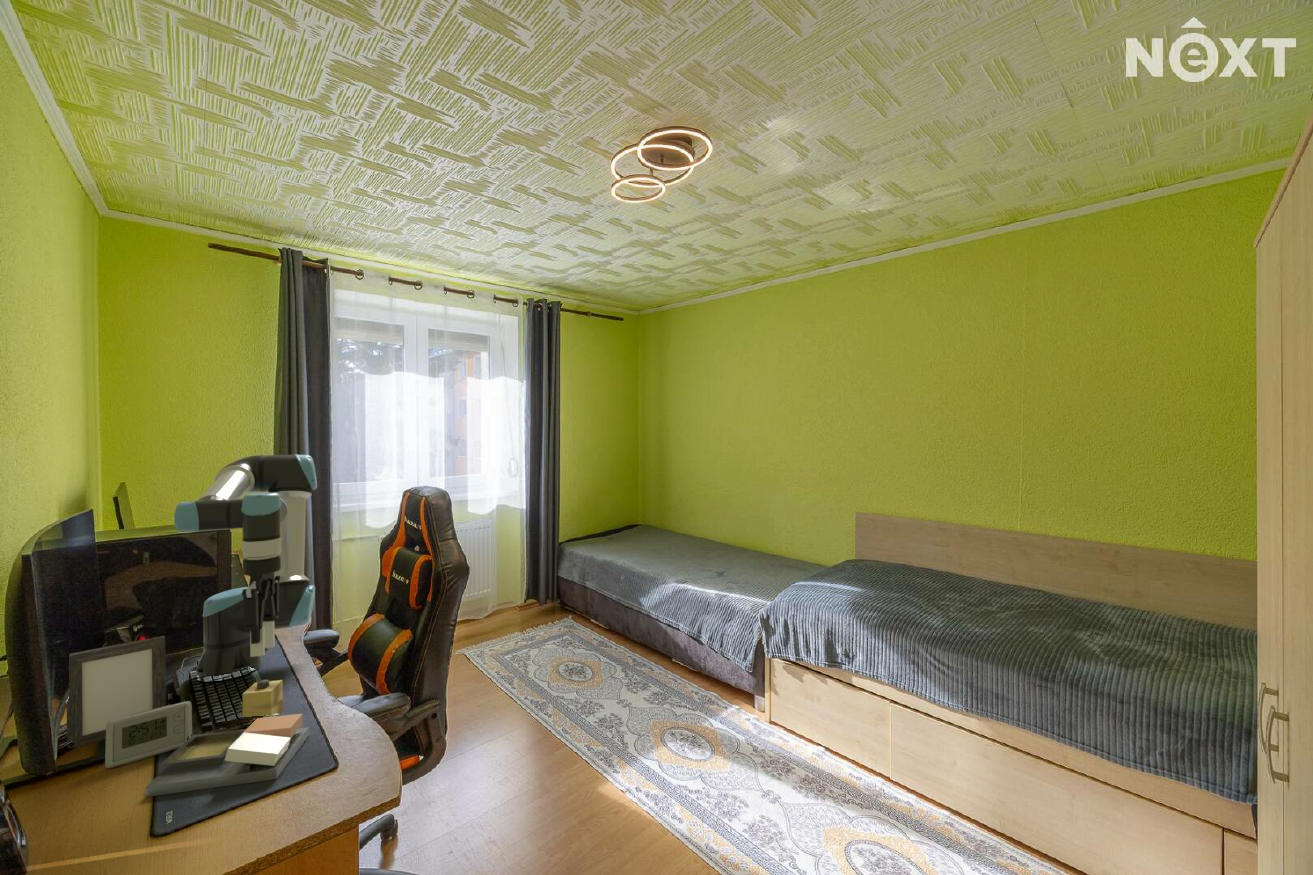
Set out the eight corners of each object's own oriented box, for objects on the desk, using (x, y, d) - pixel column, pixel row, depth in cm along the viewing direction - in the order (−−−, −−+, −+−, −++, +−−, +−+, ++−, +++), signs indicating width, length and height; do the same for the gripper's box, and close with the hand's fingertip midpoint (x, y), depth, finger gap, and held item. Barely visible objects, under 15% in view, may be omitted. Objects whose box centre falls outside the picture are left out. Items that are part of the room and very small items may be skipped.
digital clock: (100, 772, 109) (100, 728, 109) (114, 753, 116) (113, 712, 116) (188, 752, 116) (187, 710, 116) (196, 735, 123) (196, 696, 123)
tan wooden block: (255, 714, 132) (255, 677, 132) (282, 711, 133) (282, 675, 133) (242, 727, 126) (242, 688, 126) (271, 724, 128) (271, 685, 128)
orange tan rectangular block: (257, 728, 119) (257, 717, 119) (302, 724, 121) (302, 713, 121) (243, 743, 113) (243, 732, 113) (290, 738, 115) (290, 727, 115)
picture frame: (66, 751, 117) (66, 656, 117) (68, 747, 118) (67, 653, 118) (165, 724, 128) (165, 637, 128) (165, 720, 129) (164, 634, 129)
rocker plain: (240, 743, 111) (244, 732, 111) (287, 748, 113) (290, 737, 113) (224, 760, 105) (228, 748, 106) (274, 765, 107) (277, 753, 108)
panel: (194, 749, 117) (194, 733, 117) (309, 735, 122) (308, 720, 122) (143, 797, 102) (142, 778, 102) (276, 778, 107) (276, 761, 107)
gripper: (262, 549, 137) (262, 639, 137) (224, 565, 120) (225, 668, 120) (294, 548, 139) (295, 637, 139) (261, 563, 122) (262, 664, 122)
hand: (262, 651), depth 130 cm, fingers open, 4 cm apart
